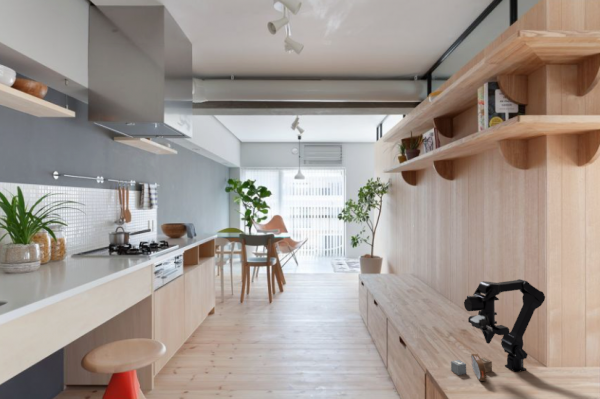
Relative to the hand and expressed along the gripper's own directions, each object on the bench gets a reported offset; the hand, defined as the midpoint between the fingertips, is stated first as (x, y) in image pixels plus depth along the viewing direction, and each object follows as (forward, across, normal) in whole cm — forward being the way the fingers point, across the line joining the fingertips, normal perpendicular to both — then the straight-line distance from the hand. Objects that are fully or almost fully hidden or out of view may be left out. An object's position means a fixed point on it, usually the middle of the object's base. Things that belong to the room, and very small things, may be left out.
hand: (488, 343), depth 168 cm
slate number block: (+13, -4, -14) cm, 19 cm away
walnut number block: (+13, -2, 0) cm, 13 cm away
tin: (+13, +2, -8) cm, 16 cm away
